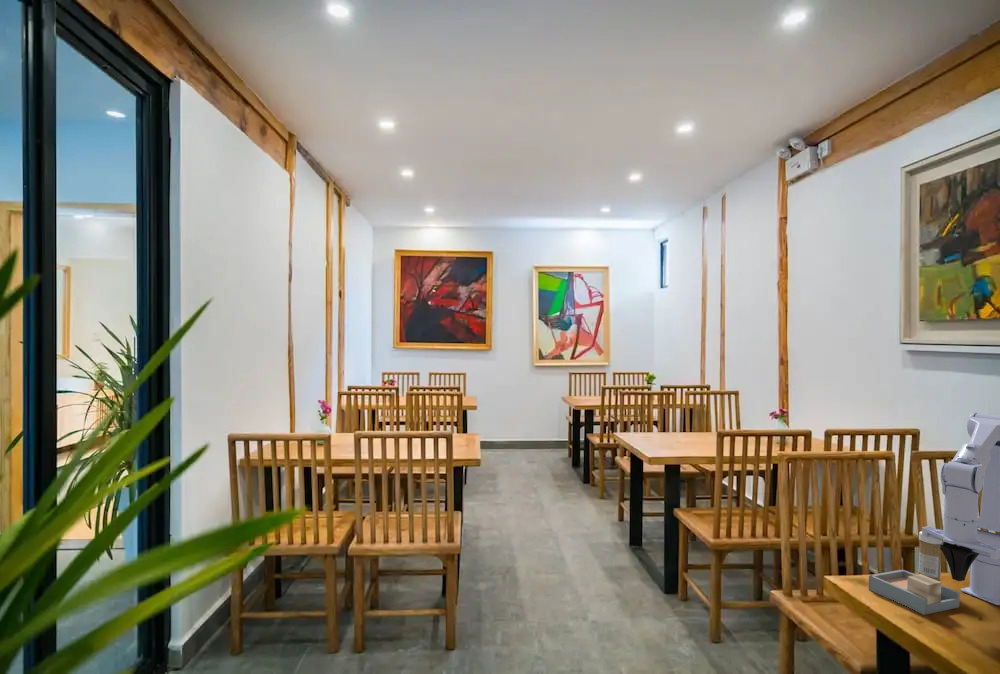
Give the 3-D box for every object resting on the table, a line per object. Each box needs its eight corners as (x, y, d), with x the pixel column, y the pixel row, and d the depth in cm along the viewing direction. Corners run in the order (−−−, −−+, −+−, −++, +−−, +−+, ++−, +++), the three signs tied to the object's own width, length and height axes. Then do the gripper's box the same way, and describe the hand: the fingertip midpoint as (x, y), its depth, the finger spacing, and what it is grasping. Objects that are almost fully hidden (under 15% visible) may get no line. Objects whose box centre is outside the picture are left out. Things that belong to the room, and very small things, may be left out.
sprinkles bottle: (943, 588, 140) (945, 534, 140) (936, 592, 137) (937, 538, 137) (921, 581, 144) (923, 529, 143) (914, 585, 141) (916, 532, 141)
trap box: (902, 583, 142) (902, 569, 142) (959, 607, 130) (959, 592, 130) (868, 589, 138) (869, 575, 138) (924, 615, 126) (924, 599, 126)
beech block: (920, 593, 132) (920, 574, 132) (940, 601, 128) (941, 582, 128) (907, 595, 131) (907, 576, 131) (927, 604, 127) (928, 584, 127)
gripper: (913, 509, 128) (911, 568, 128) (987, 530, 114) (984, 597, 115) (934, 506, 131) (932, 564, 131) (1008, 527, 117) (1006, 592, 117)
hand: (958, 579), depth 123 cm, fingers closed
